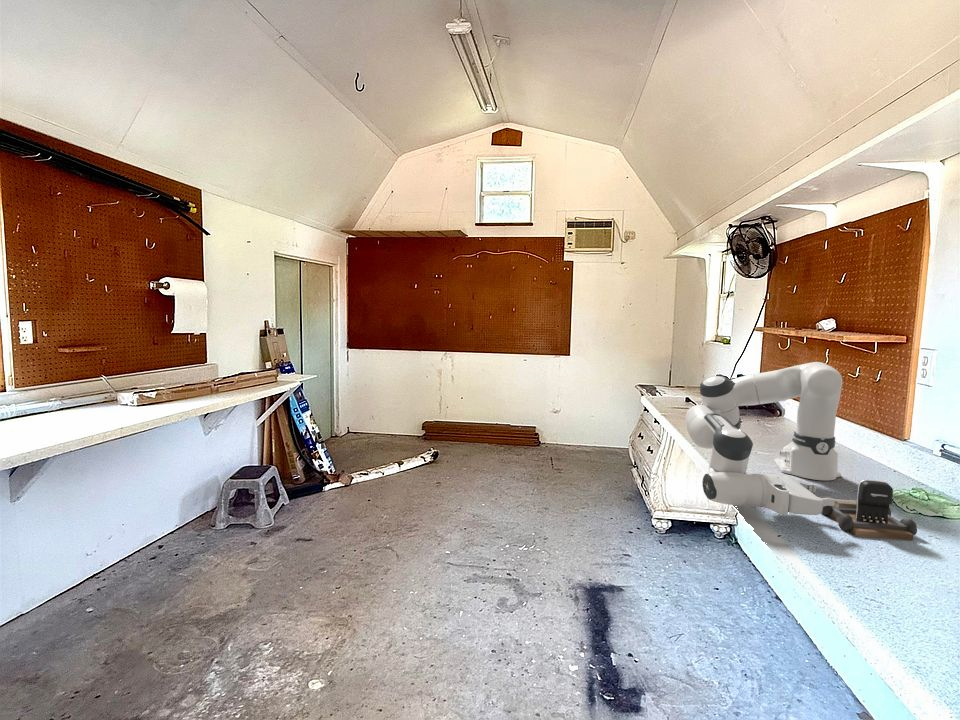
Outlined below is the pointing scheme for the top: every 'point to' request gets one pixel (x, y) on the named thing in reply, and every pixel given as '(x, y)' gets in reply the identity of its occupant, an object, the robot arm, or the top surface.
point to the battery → (873, 501)
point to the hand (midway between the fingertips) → (823, 494)
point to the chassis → (846, 519)
